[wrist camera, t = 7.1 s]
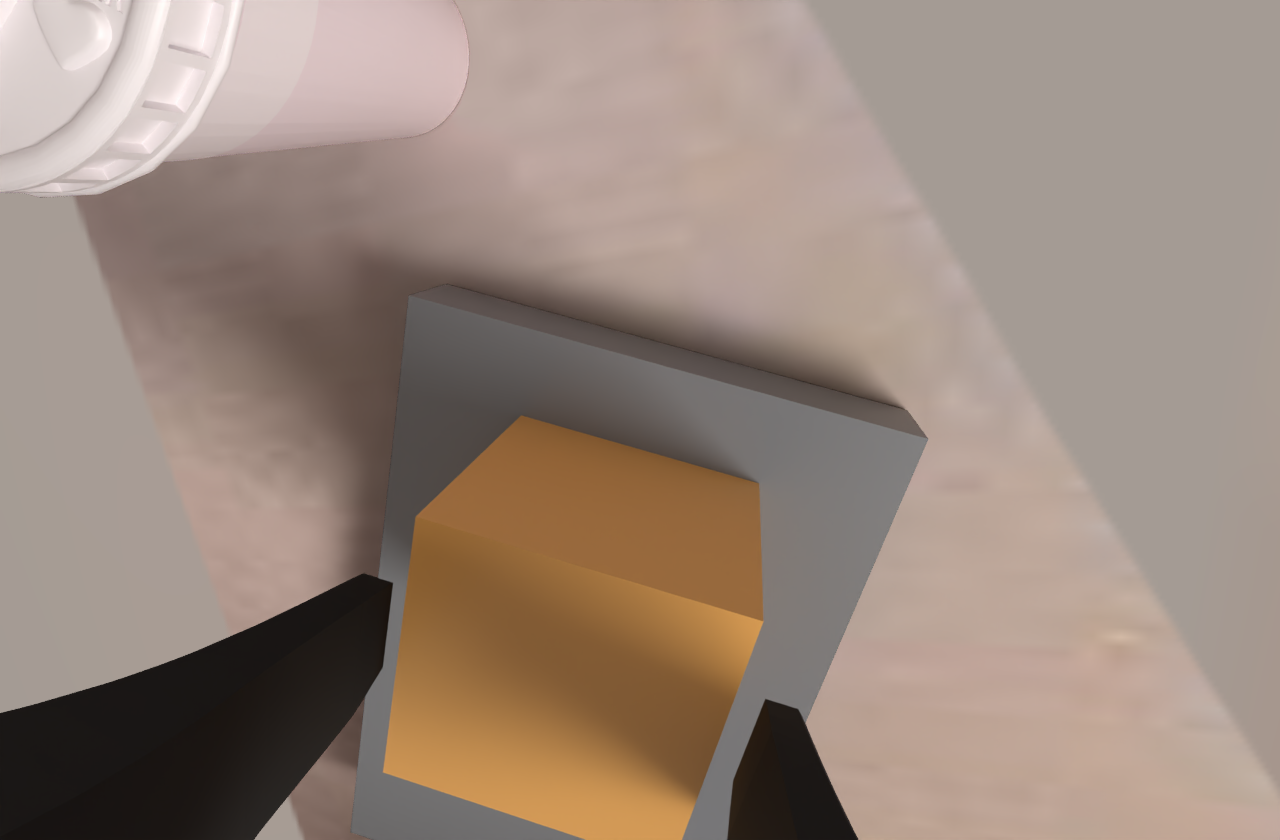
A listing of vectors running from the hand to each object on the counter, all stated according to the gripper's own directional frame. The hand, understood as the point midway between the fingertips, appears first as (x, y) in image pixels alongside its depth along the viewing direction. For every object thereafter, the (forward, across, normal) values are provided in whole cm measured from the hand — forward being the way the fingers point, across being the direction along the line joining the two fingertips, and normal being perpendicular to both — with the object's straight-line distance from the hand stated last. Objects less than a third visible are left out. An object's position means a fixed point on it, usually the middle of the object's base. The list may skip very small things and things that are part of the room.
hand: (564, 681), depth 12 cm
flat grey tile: (+6, 0, +4) cm, 8 cm away
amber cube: (+4, 0, 0) cm, 5 cm away
